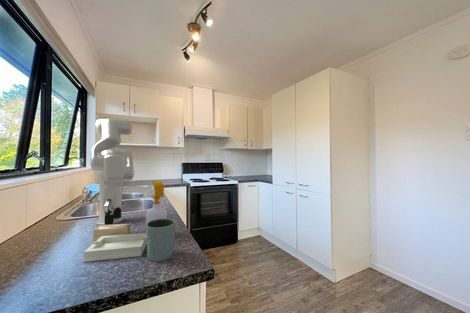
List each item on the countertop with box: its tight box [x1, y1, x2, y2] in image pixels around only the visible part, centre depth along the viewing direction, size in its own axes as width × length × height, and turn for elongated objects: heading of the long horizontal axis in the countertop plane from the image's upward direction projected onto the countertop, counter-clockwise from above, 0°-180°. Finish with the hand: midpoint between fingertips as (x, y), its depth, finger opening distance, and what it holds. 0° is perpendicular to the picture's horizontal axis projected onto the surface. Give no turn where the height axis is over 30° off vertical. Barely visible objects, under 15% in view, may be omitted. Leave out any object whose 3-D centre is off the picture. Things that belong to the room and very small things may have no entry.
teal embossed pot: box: [145, 217, 177, 263], centre depth 71 cm, size 10×10×12 cm
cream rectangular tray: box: [82, 232, 147, 263], centre depth 76 cm, size 15×18×4 cm
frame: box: [92, 223, 132, 242], centre depth 88 cm, size 6×13×5 cm, turn 104°
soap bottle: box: [145, 180, 168, 224], centre depth 91 cm, size 9×9×25 cm
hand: (113, 221), depth 87 cm, fingers open, 9 cm apart
